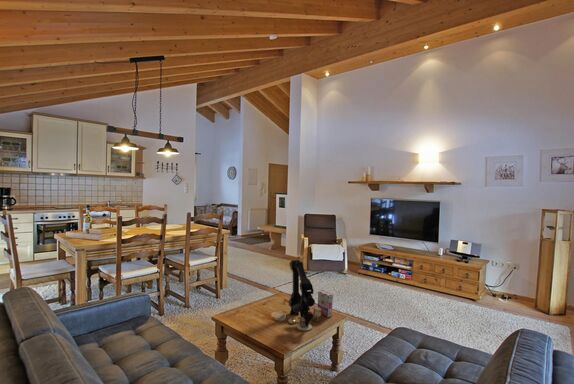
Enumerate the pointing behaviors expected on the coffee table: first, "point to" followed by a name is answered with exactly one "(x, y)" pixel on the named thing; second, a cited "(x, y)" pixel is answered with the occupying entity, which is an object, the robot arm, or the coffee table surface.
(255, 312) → the coffee table surface
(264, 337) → the coffee table surface
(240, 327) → the coffee table surface
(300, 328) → the sage dish
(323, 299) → the candy bar box
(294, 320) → the balance
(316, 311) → the oak block
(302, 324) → the walnut block
